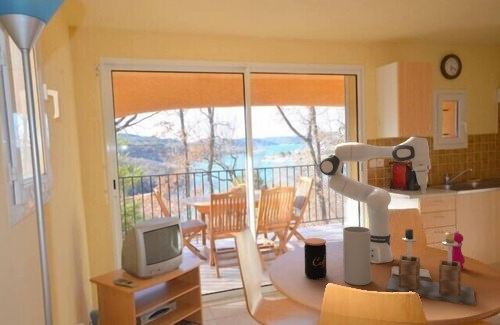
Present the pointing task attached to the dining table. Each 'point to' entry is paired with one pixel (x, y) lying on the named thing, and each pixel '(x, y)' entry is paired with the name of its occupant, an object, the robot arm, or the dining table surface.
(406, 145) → the robot arm
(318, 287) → the dining table surface
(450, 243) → the plunger right
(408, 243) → the plunger left
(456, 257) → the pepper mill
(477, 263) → the dining table surface
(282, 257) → the dining table surface
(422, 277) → the washcloth
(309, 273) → the coffee jar
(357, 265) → the cylinder vase
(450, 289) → the grey holder stand
